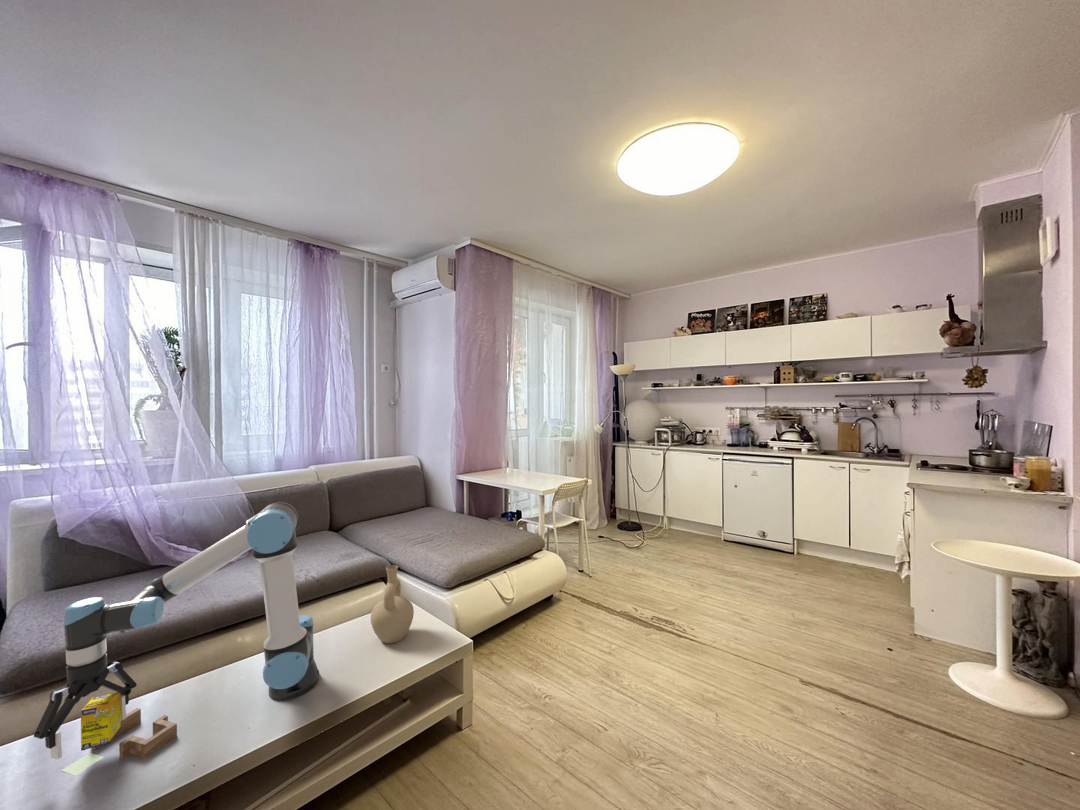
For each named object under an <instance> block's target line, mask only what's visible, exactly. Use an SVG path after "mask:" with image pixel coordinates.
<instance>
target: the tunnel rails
mask: <svg viewBox="0 0 1080 810" xmlns="http://www.w3.org/2000/svg"><path fill="white" fill-rule="evenodd" d="M141 716H142V711H141V708H140V707H139V708H138V707H137V708H134V709H133V710H131V711H129V712H128V713H126V719H124V720H120V731H119V732H118V733H117V735H116V736H115V737H114V739H115V738H118V737H119V736H121V735H122V734H123V733H125V732H127V731H128V730H131V729H132V728H133V727H135V726H137V725H138V724H140V723H142V717H141ZM168 717H169V716H168V715H165V714H164V715H162V716H161V717H159V718H157V719H156V720H154V721H153V722H152V736H150V737H149V738H144V737H140V736H137V735H133V734H131V735H130V736H129V737H127V738H126V739H124V740H123V741H121V742H119V745H118V746H119V748H118V749H119V750H118V753H119V754H118V756H119V758H122V759H124V758H126V757H127V756H128V755H132V756H136V757H141V758H144V759H145V758H147V757H148V756H151V754H154V752H156V751H157V750H159V749H161V748H162V747H164V746H165V745H167V743H169V742H170V741H172V740H173V739H175V738H176V737H178V723H176V722H173V721H169V718H168ZM103 746H104V745H102V746H98V747H94V748H90V749H91V750H93V751H97V750H98V749H99V748H101V747H103Z"/></svg>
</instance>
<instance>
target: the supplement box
mask: <svg viewBox="0 0 1080 810" xmlns="http://www.w3.org/2000/svg"><path fill="white" fill-rule="evenodd" d="M119 731H120V692H114V693H110V694H104V695H99V696H93V697H92V698H91V699H90V700H89V701H88V702H87V703H86V704H85V705H84V707H83V708H81V709H80V750H81V751H86V750H90V749H91V748H94V747H98V746H101V747H103V746H107V745H110V744H111V743H112V742H113V740H114V739H115V738H114V737H115V736H116V735H117V733H118V732H119ZM102 745H103V746H102Z"/></svg>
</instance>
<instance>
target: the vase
mask: <svg viewBox="0 0 1080 810" xmlns="http://www.w3.org/2000/svg"><path fill="white" fill-rule="evenodd" d="M398 568H399V566H398V565H396V564H391V565H388V566H386V567H385V569H386V574H387V583H386V585H385V588H384V593H383V599H382V600H380V601H379V602H378V603H376V605H375V606H374V607H373V609H371V610H372V611H371V613H370V624H371V628H372V629H373V632H374V634H375V636H376V637H377V638H378V640H379V641H380V642H382V643H384V644H395V643H398V642H400V641H402V640H403V639H404V638H405V637H406V635H407V634H408V632H409V631H410V630H409V629H410V627H411V625H412V623H413V619H414V613H415V609H414V606H413V603H412V602H411V601H410V600H409V599H408V598H406V597H404V596H401V591H402V590H401V581H400V579H399V578H397V577H398V576H397V575H398Z"/></svg>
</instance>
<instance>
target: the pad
mask: <svg viewBox="0 0 1080 810" xmlns="http://www.w3.org/2000/svg"><path fill="white" fill-rule="evenodd" d="M103 758H104V756H102V755H99V754H97V753H93V752H89V753H87V754H86V755H84V756H83V757H81V758H79V759H78V760H76V761H75V762H72V763H71V764H70V765H68V766H66V767H65V768H63V769H61V772H63V773H66V774H70V775H74V776H76V775H78V774H80V773H81V772H83V771H84V770H86V769H88V768H89V767H91V766H92V765H94V764H95V763H97V762H98V761H100V760H102V759H103Z"/></svg>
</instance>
